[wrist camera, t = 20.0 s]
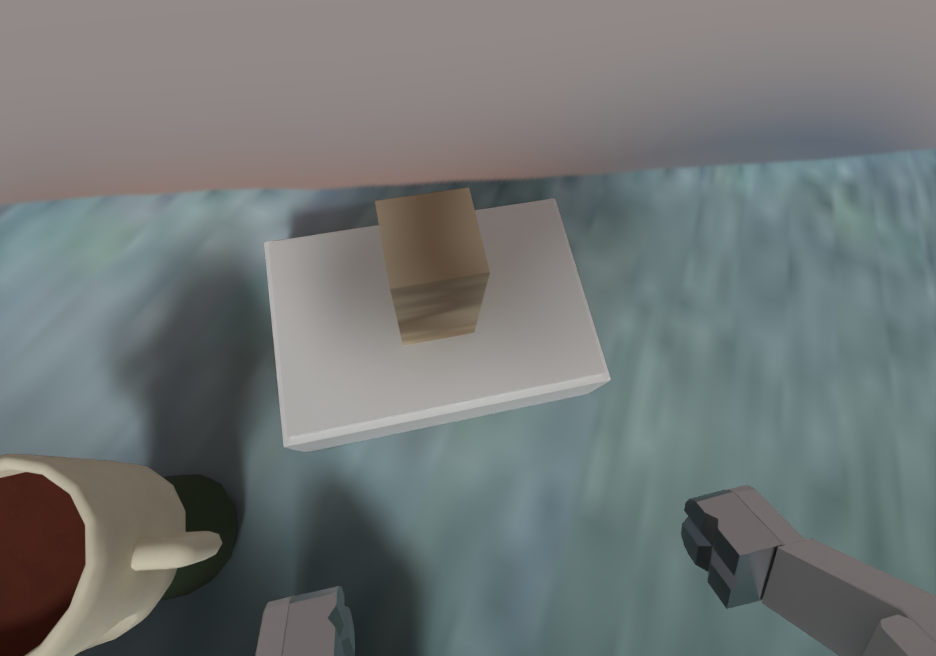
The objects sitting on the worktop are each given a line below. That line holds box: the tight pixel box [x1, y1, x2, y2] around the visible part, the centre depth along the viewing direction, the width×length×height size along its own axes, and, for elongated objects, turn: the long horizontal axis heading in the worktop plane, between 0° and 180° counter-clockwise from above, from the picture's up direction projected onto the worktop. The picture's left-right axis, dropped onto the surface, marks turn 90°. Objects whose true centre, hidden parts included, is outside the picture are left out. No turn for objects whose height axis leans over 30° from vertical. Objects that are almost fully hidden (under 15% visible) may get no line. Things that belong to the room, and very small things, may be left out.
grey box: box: [264, 198, 611, 453], centre depth 29 cm, size 18×12×5 cm, turn 102°
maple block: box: [375, 187, 490, 346], centre depth 23 cm, size 4×4×8 cm
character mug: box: [0, 454, 237, 656], centre depth 21 cm, size 11×7×13 cm, turn 93°
